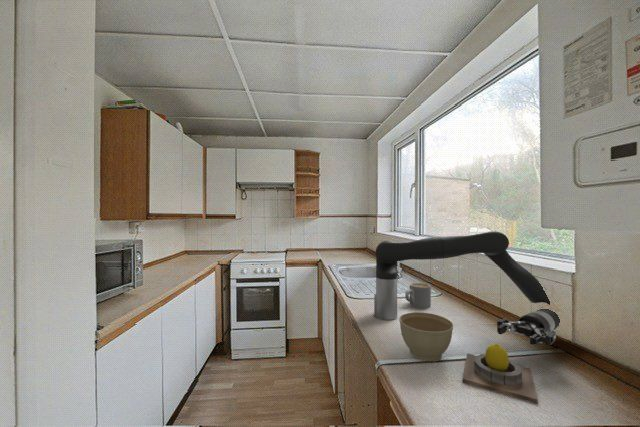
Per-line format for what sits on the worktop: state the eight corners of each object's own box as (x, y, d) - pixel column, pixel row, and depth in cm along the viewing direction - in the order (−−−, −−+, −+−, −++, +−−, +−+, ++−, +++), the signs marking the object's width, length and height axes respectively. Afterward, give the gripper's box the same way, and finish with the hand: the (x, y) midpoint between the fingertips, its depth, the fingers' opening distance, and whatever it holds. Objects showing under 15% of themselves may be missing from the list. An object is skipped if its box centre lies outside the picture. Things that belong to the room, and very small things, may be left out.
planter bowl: (389, 347, 94) (389, 315, 94) (427, 340, 100) (427, 309, 100) (422, 372, 79) (422, 334, 79) (465, 362, 85) (465, 326, 85)
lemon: (512, 379, 74) (512, 349, 74) (489, 377, 75) (489, 347, 75) (503, 368, 79) (503, 340, 79) (482, 366, 80) (482, 338, 81)
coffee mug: (424, 301, 144) (424, 282, 145) (434, 307, 135) (434, 287, 135) (399, 302, 142) (399, 283, 143) (408, 309, 133) (408, 288, 133)
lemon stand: (462, 382, 74) (462, 369, 74) (466, 356, 88) (466, 345, 88) (537, 403, 66) (537, 388, 66) (529, 371, 80) (529, 359, 80)
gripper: (512, 307, 98) (489, 316, 89) (564, 319, 86) (543, 331, 77) (512, 328, 98) (489, 339, 89) (564, 344, 86) (543, 358, 77)
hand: (514, 335), depth 83 cm, fingers open, 8 cm apart
